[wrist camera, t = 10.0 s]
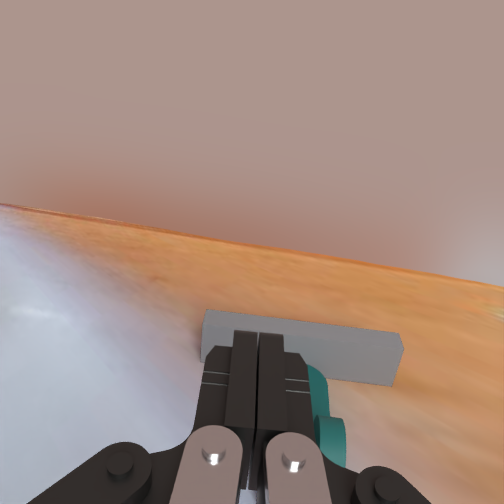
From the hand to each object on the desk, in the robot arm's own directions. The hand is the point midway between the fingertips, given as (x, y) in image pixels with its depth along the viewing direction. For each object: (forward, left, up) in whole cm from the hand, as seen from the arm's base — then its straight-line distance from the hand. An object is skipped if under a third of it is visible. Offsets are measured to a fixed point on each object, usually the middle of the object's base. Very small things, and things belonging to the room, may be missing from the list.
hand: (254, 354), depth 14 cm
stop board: (+6, +34, -31) cm, 46 cm away
